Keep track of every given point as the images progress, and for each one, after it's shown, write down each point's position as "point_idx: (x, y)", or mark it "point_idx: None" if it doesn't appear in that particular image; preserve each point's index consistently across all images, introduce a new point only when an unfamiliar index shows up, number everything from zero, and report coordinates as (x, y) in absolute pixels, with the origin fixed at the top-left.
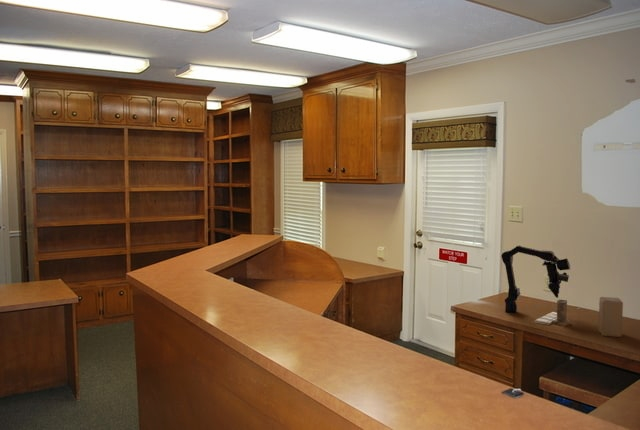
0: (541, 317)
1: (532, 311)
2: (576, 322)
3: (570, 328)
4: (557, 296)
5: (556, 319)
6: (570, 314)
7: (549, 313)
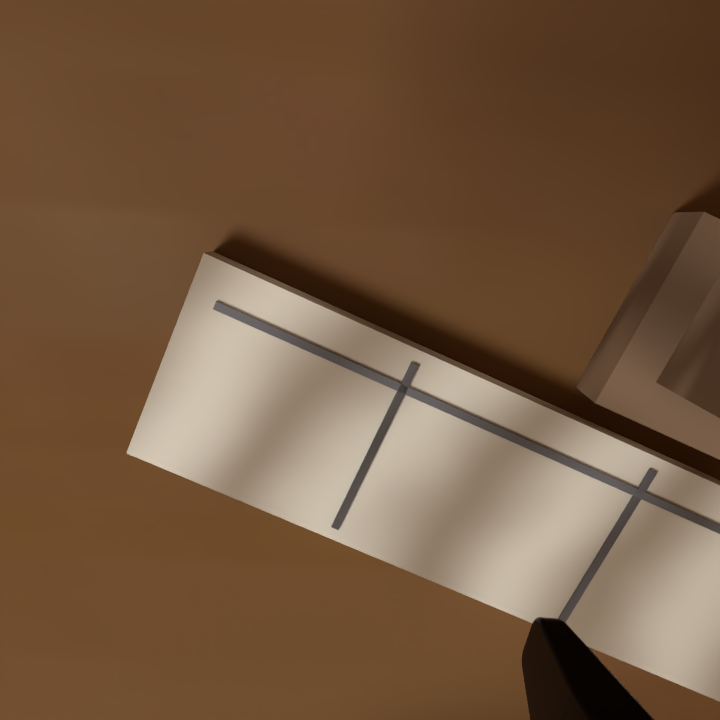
0: None
1: (126, 697)
2: (576, 93)
3: None
4: (590, 670)
5: (697, 430)
6: (65, 157)
7: (258, 503)
